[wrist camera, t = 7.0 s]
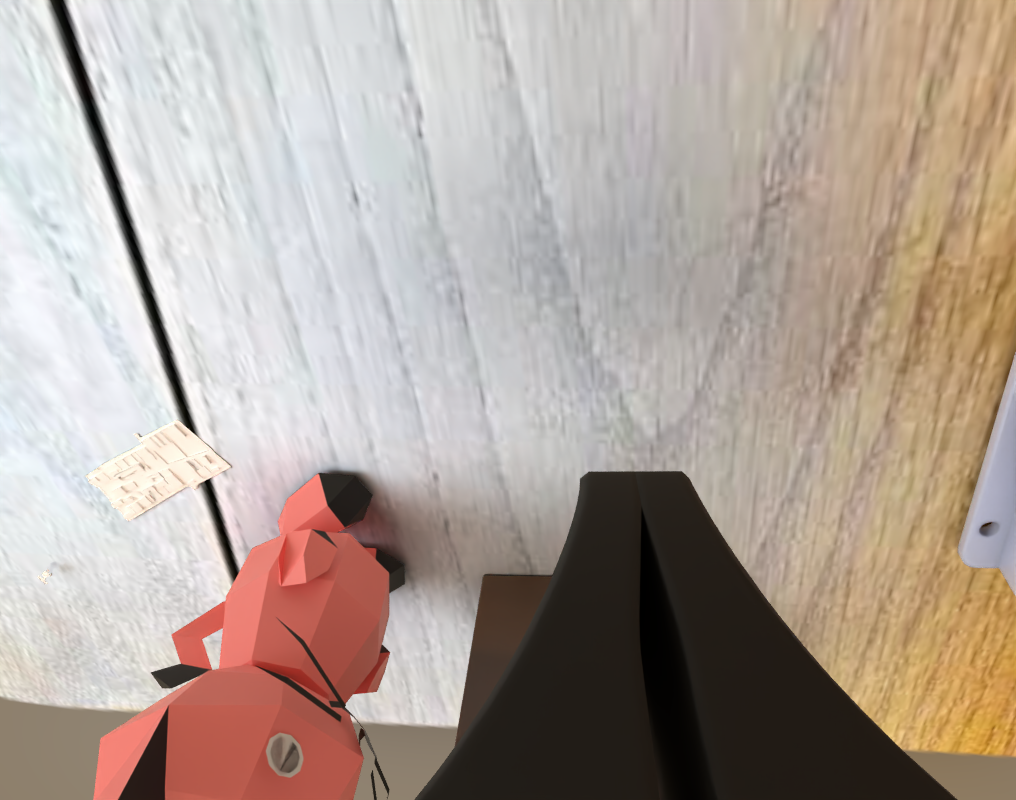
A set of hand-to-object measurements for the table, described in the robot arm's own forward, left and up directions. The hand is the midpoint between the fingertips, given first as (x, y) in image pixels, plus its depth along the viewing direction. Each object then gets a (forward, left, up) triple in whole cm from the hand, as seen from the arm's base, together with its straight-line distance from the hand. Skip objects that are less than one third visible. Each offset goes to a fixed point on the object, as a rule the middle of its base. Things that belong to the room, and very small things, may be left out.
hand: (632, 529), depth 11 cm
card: (-8, +16, -11) cm, 21 cm away
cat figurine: (-10, +9, -10) cm, 17 cm away
